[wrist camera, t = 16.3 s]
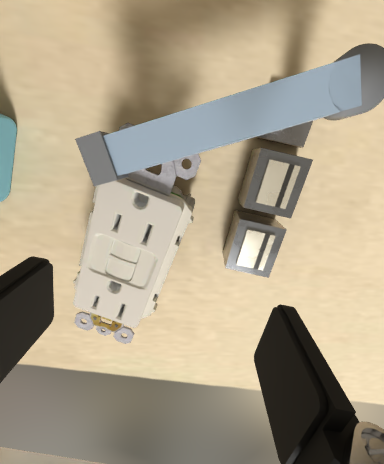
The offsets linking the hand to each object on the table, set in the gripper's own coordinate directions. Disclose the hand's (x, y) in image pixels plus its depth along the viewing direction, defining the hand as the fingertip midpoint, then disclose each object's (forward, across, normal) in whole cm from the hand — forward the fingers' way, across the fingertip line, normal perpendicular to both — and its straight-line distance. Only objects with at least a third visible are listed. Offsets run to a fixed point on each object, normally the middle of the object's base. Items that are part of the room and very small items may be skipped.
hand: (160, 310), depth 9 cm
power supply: (+24, -10, -4) cm, 27 cm away
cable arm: (+13, -2, -9) cm, 15 cm away
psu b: (+24, -10, +4) cm, 26 cm away
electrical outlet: (+25, +6, +8) cm, 26 cm away
